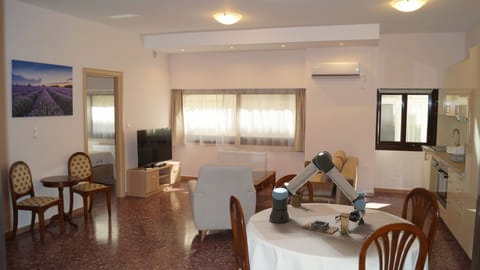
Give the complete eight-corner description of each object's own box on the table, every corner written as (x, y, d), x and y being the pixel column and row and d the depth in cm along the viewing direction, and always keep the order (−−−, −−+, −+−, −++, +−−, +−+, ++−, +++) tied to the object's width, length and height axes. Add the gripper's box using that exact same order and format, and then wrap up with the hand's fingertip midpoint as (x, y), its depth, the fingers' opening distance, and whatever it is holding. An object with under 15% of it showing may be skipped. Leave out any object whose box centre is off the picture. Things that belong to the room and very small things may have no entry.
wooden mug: (302, 207, 333) (303, 186, 331) (288, 204, 341) (288, 184, 339) (307, 205, 340) (307, 184, 339) (293, 202, 348) (293, 182, 346)
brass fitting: (338, 234, 265) (338, 214, 263) (341, 232, 270) (341, 212, 269) (347, 236, 261) (348, 216, 260) (350, 234, 266) (351, 213, 265)
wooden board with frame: (301, 228, 277) (301, 222, 277) (309, 223, 289) (309, 217, 288) (331, 234, 265) (331, 228, 265) (338, 228, 277) (338, 223, 276)
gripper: (372, 224, 277) (364, 232, 259) (338, 217, 290) (328, 225, 272) (373, 213, 276) (365, 221, 258) (338, 208, 290) (328, 214, 272)
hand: (346, 223), depth 265 cm, fingers open, 13 cm apart
